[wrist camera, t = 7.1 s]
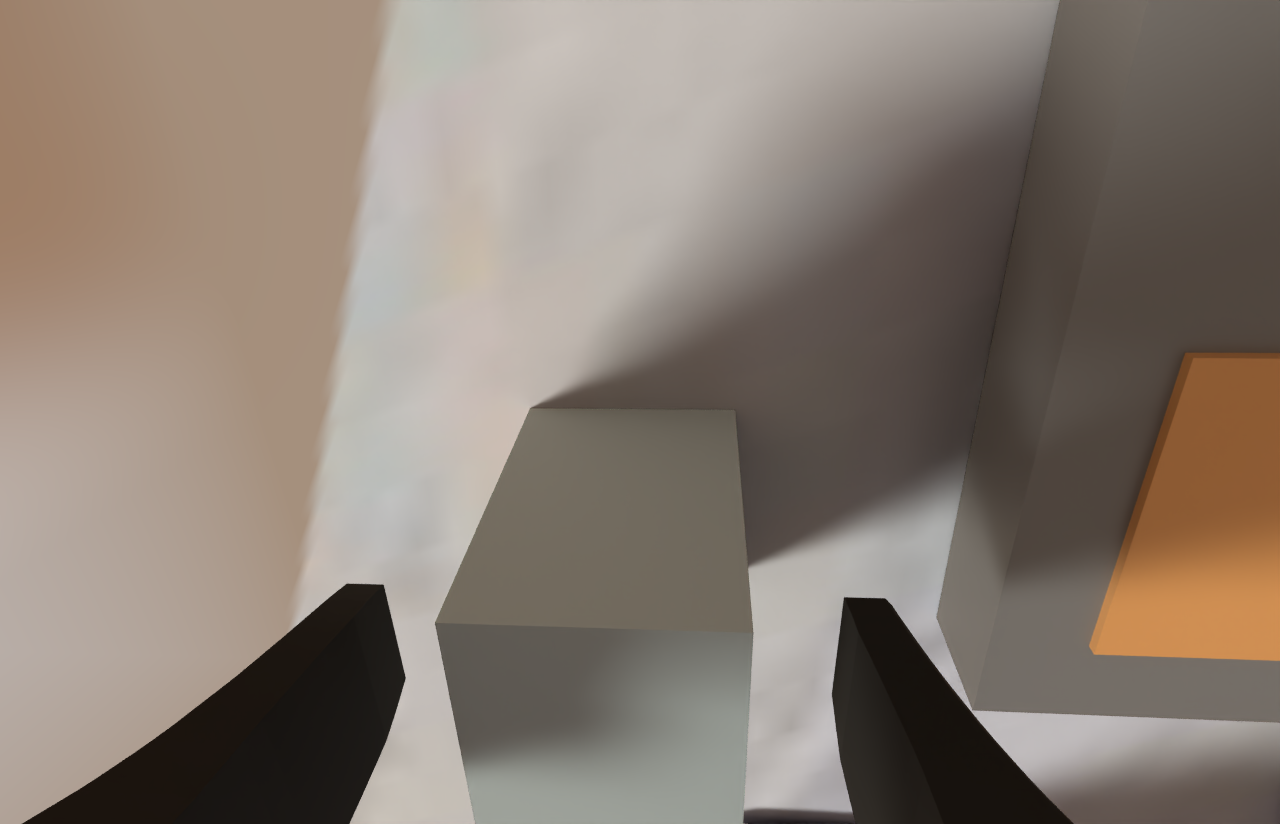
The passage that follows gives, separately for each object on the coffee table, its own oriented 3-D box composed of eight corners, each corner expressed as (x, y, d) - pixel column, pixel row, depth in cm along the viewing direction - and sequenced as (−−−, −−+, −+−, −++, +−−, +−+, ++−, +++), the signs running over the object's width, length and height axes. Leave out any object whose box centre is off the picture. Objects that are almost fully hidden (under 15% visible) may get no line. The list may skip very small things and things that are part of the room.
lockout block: (729, 573, 16) (742, 838, 11) (547, 568, 17) (475, 823, 11) (735, 409, 15) (753, 633, 9) (530, 407, 15) (434, 622, 10)
